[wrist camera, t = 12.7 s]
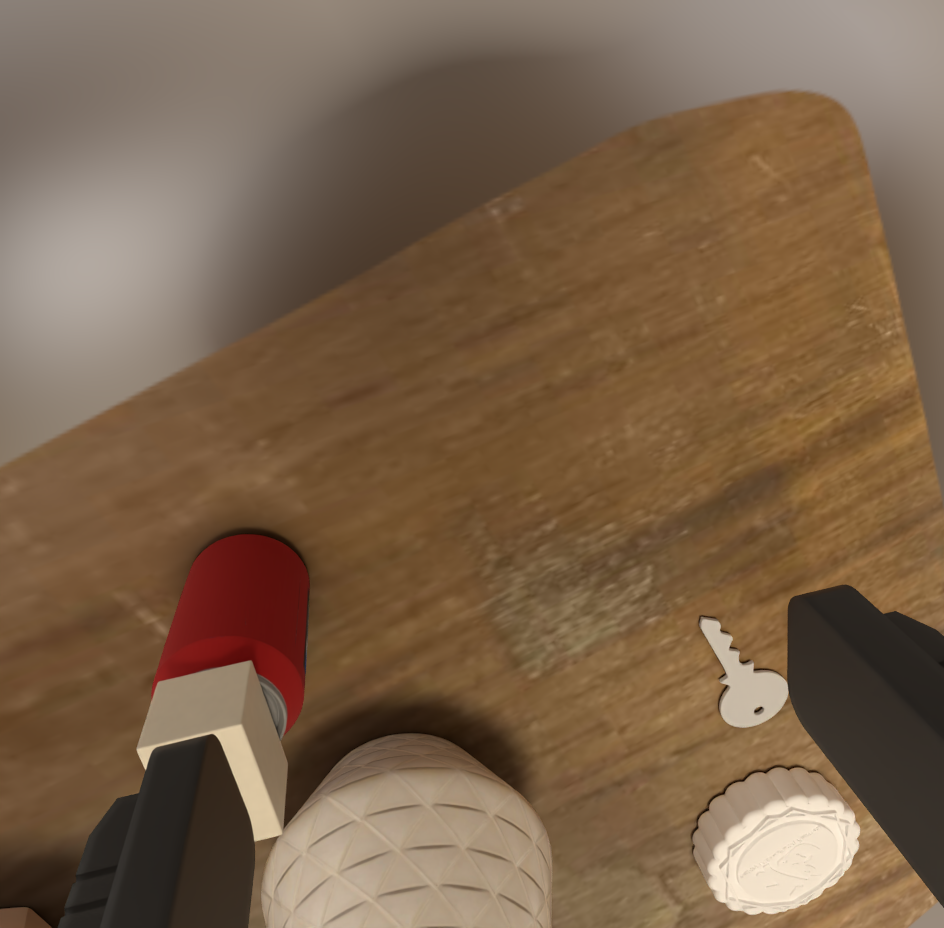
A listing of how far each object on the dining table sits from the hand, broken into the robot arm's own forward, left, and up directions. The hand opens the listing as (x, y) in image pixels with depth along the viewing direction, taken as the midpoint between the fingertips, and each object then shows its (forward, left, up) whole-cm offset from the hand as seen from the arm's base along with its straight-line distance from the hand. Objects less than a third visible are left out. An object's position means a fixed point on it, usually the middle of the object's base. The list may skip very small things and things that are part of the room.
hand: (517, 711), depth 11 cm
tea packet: (+15, -11, -20) cm, 27 cm away
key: (+30, +18, -32) cm, 47 cm away
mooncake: (+46, +20, -32) cm, 60 cm away
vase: (+34, -6, -32) cm, 47 cm away
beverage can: (+15, -11, -32) cm, 37 cm away
